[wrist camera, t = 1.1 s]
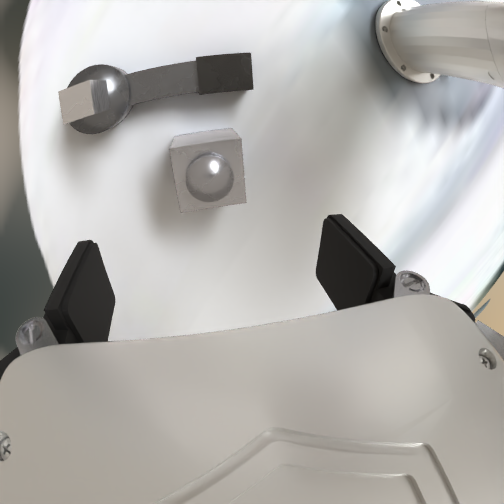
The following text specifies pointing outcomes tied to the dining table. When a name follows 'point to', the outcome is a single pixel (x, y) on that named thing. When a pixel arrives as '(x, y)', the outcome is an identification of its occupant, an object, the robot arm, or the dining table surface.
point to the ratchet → (146, 88)
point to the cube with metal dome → (208, 169)
